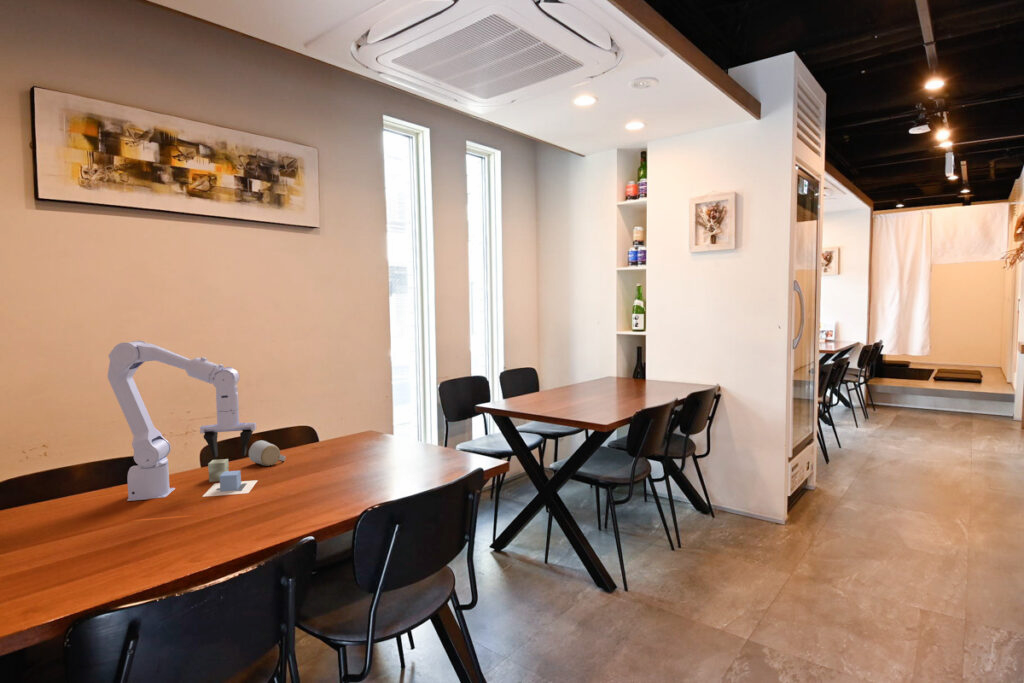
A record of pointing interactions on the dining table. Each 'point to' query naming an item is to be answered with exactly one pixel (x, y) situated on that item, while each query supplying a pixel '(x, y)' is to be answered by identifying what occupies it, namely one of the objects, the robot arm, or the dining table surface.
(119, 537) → the dining table surface
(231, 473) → the blue cube
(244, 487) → the letter card
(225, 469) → the green block
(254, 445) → the ceramic mug
